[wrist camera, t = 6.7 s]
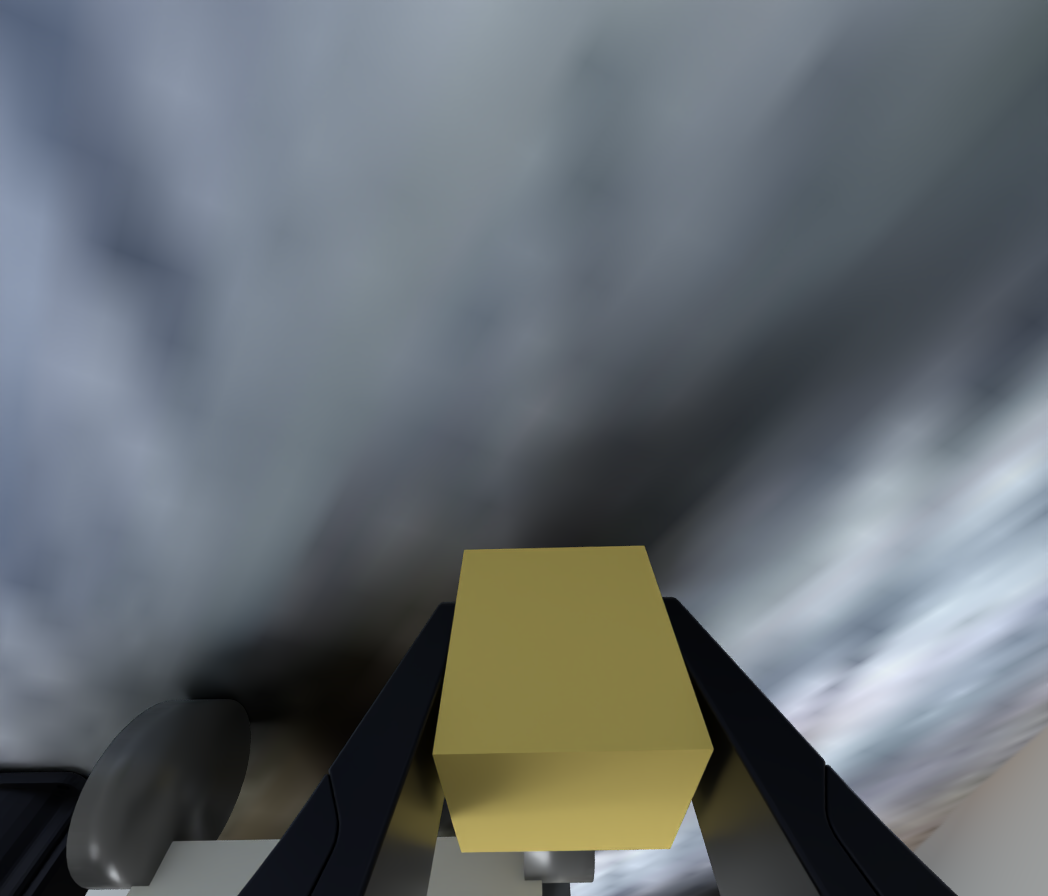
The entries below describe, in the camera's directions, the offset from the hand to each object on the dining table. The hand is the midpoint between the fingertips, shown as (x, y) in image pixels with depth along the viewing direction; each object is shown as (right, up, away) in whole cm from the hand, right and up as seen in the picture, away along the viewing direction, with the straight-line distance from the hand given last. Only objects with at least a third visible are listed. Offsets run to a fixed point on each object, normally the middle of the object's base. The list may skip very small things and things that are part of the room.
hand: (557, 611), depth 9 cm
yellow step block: (0, -1, +2) cm, 2 cm away
